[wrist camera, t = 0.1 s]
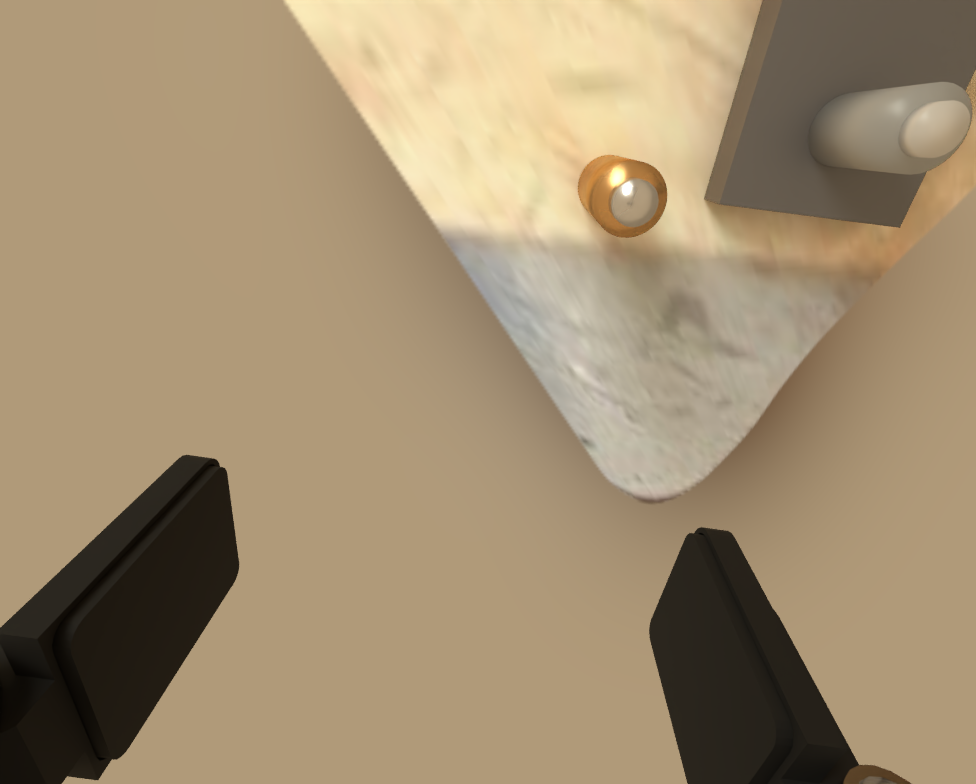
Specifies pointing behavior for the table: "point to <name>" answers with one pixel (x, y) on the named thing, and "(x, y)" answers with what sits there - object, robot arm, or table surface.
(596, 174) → the amber bottle
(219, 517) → the robot arm
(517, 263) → the table surface
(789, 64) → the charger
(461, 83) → the table surface
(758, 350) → the table surface
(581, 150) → the table surface
